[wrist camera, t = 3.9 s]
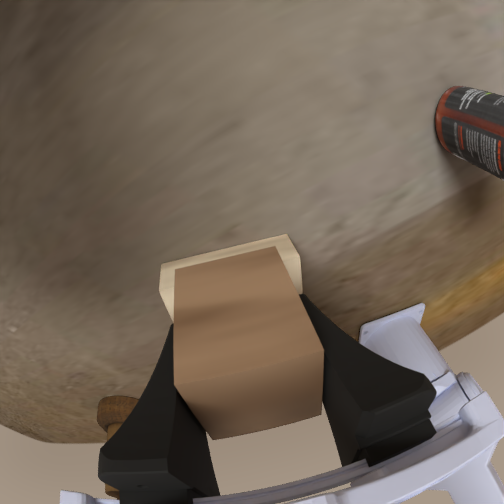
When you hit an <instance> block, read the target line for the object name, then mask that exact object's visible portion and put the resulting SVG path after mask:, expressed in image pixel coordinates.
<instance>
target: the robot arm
mask: <svg viewBox="0 0 504 504" xmlns="http://www.w3.org/2000/svg"><path fill="white" fill-rule="evenodd" d="M299 297H300V299H301V301H302V303H303V305H304V307H305V310H306V312H307V314H308V316H309V318H310V320H311V323H312V325H313V327H314V329H315V331H316V333H317V336H318V338H319V340H320V342H321V344H322V346H323V349H324V369H323V393H322V402H323V404H324V408H325V410H326V414H327V417H328V420H329V423H330V426H331V429H332V432H333V436H334V439H335V442H336V446H337V450H338V453H339V456H340V460H341V464H342V467H341V468H338V469H335V470H332V471H329V472H326V473H323V474H319V475H316V476H313V477H309V478H306V479H302V480H299V481H295V482H290V483H286V484H282V485H278V486H273V487H269V488H264V489H259V490H253V491H248V492H242V493H236V494H229V495H222V496H221V495H220V492H219V488H218V485H217V481H216V478H215V474H214V470H213V465H212V461H211V457H210V451H209V446H208V441H207V436H206V430H205V429H204V428H203V426H202V425H201V423H200V422H199V421H198V419H197V418H196V416H195V415H194V414H193V412H192V411H191V409H190V408H189V406H188V405H187V403H186V402H185V401H184V399H183V398H182V396H181V395H180V393H179V391H178V390H177V388H176V387H175V385H174V351H173V329H174V323H173V324H172V325H171V326H170V330H169V333H168V336H167V339H166V342H165V344H164V347H163V350H162V353H161V355H160V358H159V360H158V363H157V365H156V367H155V370H154V372H153V374H152V376H151V378H150V380H149V382H148V384H147V386H146V388H145V390H144V392H143V394H142V396H141V397H140V399H139V401H138V402H137V404H136V405H135V407H134V409H133V410H132V412H131V413H130V414H129V416H128V417H127V418H126V420H125V421H124V422H123V424H122V425H121V426H120V428H119V429H118V430H117V431H116V433H115V434H114V435H113V436H112V437H111V438H110V439H109V440H108V441H107V442H106V443H105V444H104V446H103V447H102V448H101V449H100V454H99V463H98V477H99V479H100V480H101V481H103V482H104V483H106V484H107V485H109V486H111V487H113V488H115V489H117V490H119V500H112V499H100V498H93V497H92V496H90V495H88V494H84V493H80V492H74V491H66V490H61V491H60V504H275V503H281V502H285V501H289V500H293V499H297V498H301V497H305V496H308V495H312V494H315V493H319V492H322V491H325V490H329V489H332V488H335V487H338V486H341V485H344V484H347V483H349V482H351V484H350V485H351V487H349V488H346V489H342V490H339V491H336V492H332V493H325V494H320V495H316V496H312V497H308V498H304V499H301V500H297V501H293V502H289V503H284V504H399V503H401V502H403V501H405V500H407V499H409V498H411V497H413V496H415V495H417V494H419V493H421V492H423V491H425V490H427V489H428V490H444V491H448V492H449V494H450V496H451V498H452V499H453V501H454V503H455V504H504V485H503V483H502V481H501V480H500V478H499V476H498V474H497V472H496V470H495V469H494V467H493V465H492V463H491V462H490V459H491V457H492V455H493V452H494V450H495V448H496V446H497V443H498V441H499V440H500V439H501V438H502V437H504V419H503V417H502V415H501V414H500V412H499V411H498V409H497V408H496V406H495V404H494V403H493V401H492V400H491V398H490V397H489V395H488V394H487V392H486V391H483V390H482V389H481V387H480V386H479V385H478V383H477V382H476V381H475V379H474V378H473V377H472V376H471V375H470V373H463V372H460V373H459V374H458V375H455V374H454V373H453V371H452V370H451V368H450V367H449V365H448V364H447V363H446V361H445V360H444V358H443V357H442V355H441V354H440V353H439V351H438V350H437V348H436V347H435V345H434V344H433V343H432V341H431V340H430V339H429V337H428V336H427V334H426V333H425V332H424V330H423V329H422V328H421V326H420V322H421V319H422V316H423V312H424V309H425V305H424V303H420V304H418V305H415V306H412V307H410V308H407V309H405V310H402V311H399V312H397V313H394V314H391V315H389V316H386V317H383V318H380V319H377V320H375V321H372V322H369V323H366V324H364V325H362V326H361V329H360V336H359V342H357V341H356V340H354V339H353V338H352V337H350V336H349V335H348V334H346V333H345V332H344V331H342V330H341V329H340V328H339V327H338V326H336V325H335V324H334V323H333V322H332V321H331V320H330V319H328V318H327V317H326V316H325V315H324V314H323V313H322V312H321V311H320V310H319V309H318V308H317V307H316V306H315V305H314V304H313V303H312V302H311V301H310V300H309V299H308V297H307V296H306V295H305V294H299ZM352 481H353V482H352Z"/></svg>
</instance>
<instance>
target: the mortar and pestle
mask: <svg viewBox="0 0 504 504" xmlns="http://www.w3.org/2000/svg"><path fill="white" fill-rule="evenodd" d="M138 401H139V400H138V399H135V398H131V397H125V396H110V397H106V398H103V399H102V400H101V401H100V402H99V404H98V413H97V422H98V424H99V425H100V426H101V427H102V428H103V429H104V431H105V432H107V441H108V440H109V439H110V438H111V437H112V436H113V435H114V434H115V433H116V431H117V430H118V429H119V428H120V426H121V425H122V424H123V422H124V421H125V420H126V418H127V417H128V416H129V414H130V413H131V412H132V410H133V409H134V407H135V405H136V404H137V402H138ZM105 492H106V494H107V495H109V496H112V497H115V498H117V500H119V490H117V489H115V488H113V487H111V486H109V485H107V484H106V483H105Z"/></svg>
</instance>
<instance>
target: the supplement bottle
mask: <svg viewBox="0 0 504 504" xmlns="http://www.w3.org/2000/svg"><path fill="white" fill-rule="evenodd" d="M435 120H436V121H435V123H436V131H437V135H438V138H439V140H440V142H441V144H442V146H443V147H444V148H445V149H446V150H447V151H448V152H450V153H451V154H453V155H455V156H457V157H459V158H461V159H463V160H465V161H467V162H469V163H471V164H473V165H475V166H477V167H479V168H481V169H483V170H485V171H487V172H489V173H491V174H493V175H495V176H496V177H498V178H500V179H502V180H504V96H502V95H498V94H494V93H490V92H487V91H483V90H478V89H474V88H470V87H463V86H454V87H452V88H450V89H448V90H447V91H446V92H445V93H444V94H443V95H442V97H441V99H440V101H439V103H438V106H437V110H436V118H435Z"/></svg>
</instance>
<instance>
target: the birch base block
mask: <svg viewBox="0 0 504 504" xmlns="http://www.w3.org/2000/svg"><path fill="white" fill-rule="evenodd" d="M273 246H276V248H277V250H278V253H279V255H280V257H281V259H282V261H283V263H284V265H285V267H286V269H287V271H288V273H289V276H290V278H291V280H292V282H293V284H294V286H295V288H296V290H297V293H298V295H299V294H303V288H302V275H301V263H300V256H299V254H298V253H297V251H296V249H295V247H294V246H293V244H292V242H291V240H290V239H289V237H288V235H287V234H284V235H280V236H276V237H271V238H267V239H263V240H259V241H254V242H250V243H246V244H242V245H238V246H233V247H229V248H225V249H221V250H217V251H213V252H208V253H204V254H200V255H196V256H192V257H188V258H184V259H180V260H175V261H171V262H167V263H163V264H161V273H160V284H159V292H160V295H161V297H162V299H163V301H164V303H165V306H166V308H167V310H168V312H169V314H170V317H171V319H172V321H173V323H174V281H175V269H179V268H183V267H187V266H191V265H196V264H200V263H204V262H209V261H213V260H217V259H221V258H226V257H230V256H234V255H238V254H243V253H247V252H251V251H256V250H260V249H264V248H268V247H273Z"/></svg>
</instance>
